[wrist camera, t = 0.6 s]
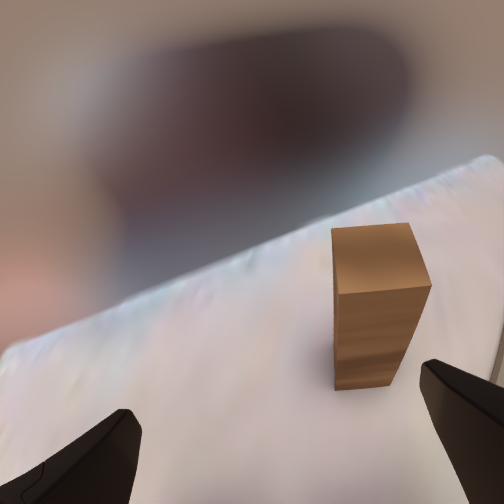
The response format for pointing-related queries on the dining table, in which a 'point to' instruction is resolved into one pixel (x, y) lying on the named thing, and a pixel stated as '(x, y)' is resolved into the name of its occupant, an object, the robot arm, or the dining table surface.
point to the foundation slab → (499, 365)
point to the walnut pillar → (375, 301)
